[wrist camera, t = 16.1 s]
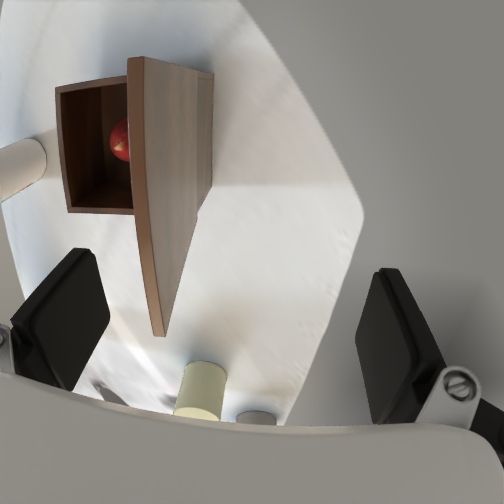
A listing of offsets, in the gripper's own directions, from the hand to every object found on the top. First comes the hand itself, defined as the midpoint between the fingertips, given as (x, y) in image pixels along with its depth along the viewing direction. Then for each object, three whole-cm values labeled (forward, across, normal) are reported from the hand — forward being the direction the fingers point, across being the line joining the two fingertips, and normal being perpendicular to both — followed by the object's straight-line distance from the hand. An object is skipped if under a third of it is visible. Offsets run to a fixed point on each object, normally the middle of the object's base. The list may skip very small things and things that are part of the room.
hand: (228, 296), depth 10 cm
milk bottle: (+34, +38, +3) cm, 51 cm away
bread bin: (+34, +15, 0) cm, 37 cm away
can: (+34, +9, +48) cm, 59 cm away
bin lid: (+14, +6, 0) cm, 15 cm away
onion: (+33, +16, 0) cm, 37 cm away
